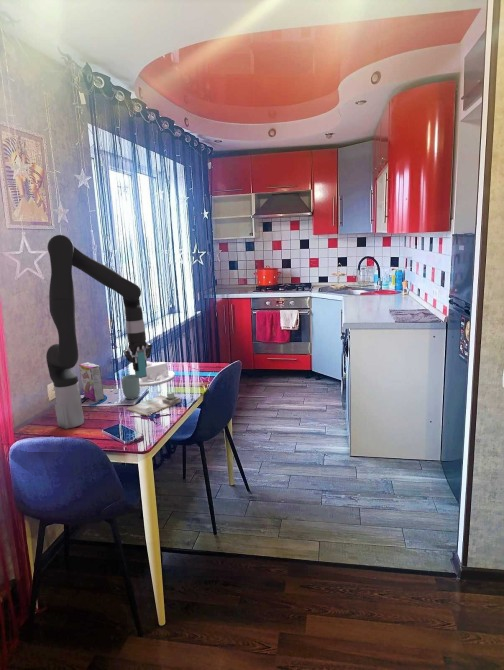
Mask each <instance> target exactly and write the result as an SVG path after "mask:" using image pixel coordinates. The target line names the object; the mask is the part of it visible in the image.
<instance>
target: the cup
mask: <svg viewBox="0 0 504 670" xmlns="http://www.w3.org/2000/svg"><path fill="white" fill-rule="evenodd" d="M120 381H121V386H122V387H121V388H122V392H123V397H125V398H126V399H128V400H133V399H132V398H134V399H136V397H137V398H138V397H139V396H140V393H141V386H140V383H139V378H137V377H135V375H133V374H126V375H124V376H122V377H121V380H120Z"/></svg>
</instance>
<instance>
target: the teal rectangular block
mask: <svg viewBox="0 0 504 670" xmlns="http://www.w3.org/2000/svg"><path fill="white" fill-rule="evenodd" d="M134 355H135V354H134ZM137 355H138V358H137V360H138V362H137V363H138V370H139V371H135V370H134V374H135V377H137V378H143V377H146V376H147V373H146V364H145V355H144V349H143V350H142V349H140V350H139V351H137Z"/></svg>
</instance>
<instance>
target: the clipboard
mask: <svg viewBox="0 0 504 670" xmlns="http://www.w3.org/2000/svg"><path fill="white" fill-rule="evenodd" d="M181 402H182V400H181V397H180V396H176V395H175V399H173V400H168V398H167V396H165V395H161V394H159V395H157V396H154V397H153V398H152V397H151V398H150V399H148V400H145V401H142V402H140V403H137V404H134V405H132V406H130V407H127V408H126V411H129V412H133V413H136V414H138V415H141V416H145V415H146V417H148V415H149V414H151V413H154V412H156V413H158V412H160V410H161V411H163V410H165V409H168V408H170V407H172V406H175V405H177V404H180V403H181ZM162 409H163V410H162ZM157 411H158V412H157ZM154 414H155V413H154ZM151 415H152V414H151ZM149 416H150V415H149Z"/></svg>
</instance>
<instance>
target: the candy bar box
mask: <svg viewBox="0 0 504 670" xmlns="http://www.w3.org/2000/svg"><path fill="white" fill-rule="evenodd" d="M78 366H79V372H80V379H81V385H82V391H83V398H85V397H87V398H86V399H88V398H89V400H90V399H91V401H93V402H95V401H96V402H99V401H102V400H104V399H105V391H104V387H103V379H102V373H101V366H100V365H98V364H95V363H92V362H90V361H89V362H87V361H86V362H84V363H80V364H78ZM101 399H102V400H101Z"/></svg>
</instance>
